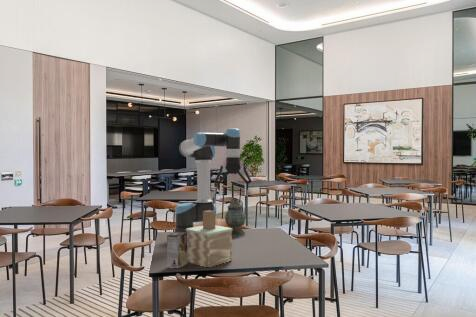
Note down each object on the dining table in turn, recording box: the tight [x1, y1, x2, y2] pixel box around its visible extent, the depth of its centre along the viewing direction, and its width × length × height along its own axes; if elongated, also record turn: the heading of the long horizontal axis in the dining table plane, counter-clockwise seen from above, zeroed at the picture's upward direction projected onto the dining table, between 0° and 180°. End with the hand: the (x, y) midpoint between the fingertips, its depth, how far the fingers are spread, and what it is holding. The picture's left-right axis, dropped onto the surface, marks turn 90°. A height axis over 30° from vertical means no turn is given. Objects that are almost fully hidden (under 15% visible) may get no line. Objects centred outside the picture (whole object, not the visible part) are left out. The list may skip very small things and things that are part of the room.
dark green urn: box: [224, 197, 246, 237], centre depth 255 cm, size 14×14×25 cm
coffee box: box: [166, 232, 188, 269], centre depth 181 cm, size 9×6×16 cm
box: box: [187, 231, 233, 268], centre depth 188 cm, size 16×16×16 cm
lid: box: [186, 210, 232, 236], centre depth 188 cm, size 17×17×10 cm
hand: (233, 195), depth 200 cm, fingers open, 13 cm apart
